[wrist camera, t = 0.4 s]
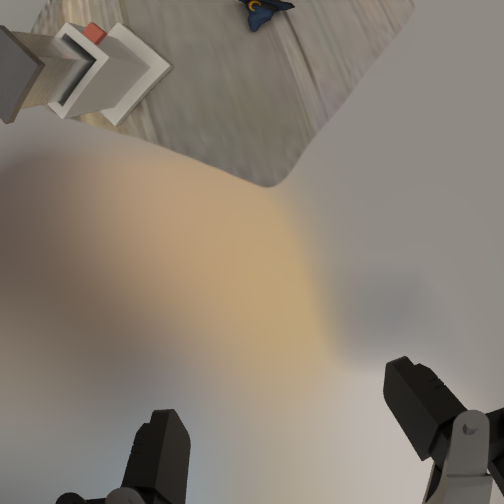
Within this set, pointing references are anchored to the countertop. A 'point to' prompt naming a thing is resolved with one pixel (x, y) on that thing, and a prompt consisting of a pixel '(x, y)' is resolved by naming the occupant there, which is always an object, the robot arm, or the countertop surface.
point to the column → (38, 70)
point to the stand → (111, 72)
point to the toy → (263, 11)
